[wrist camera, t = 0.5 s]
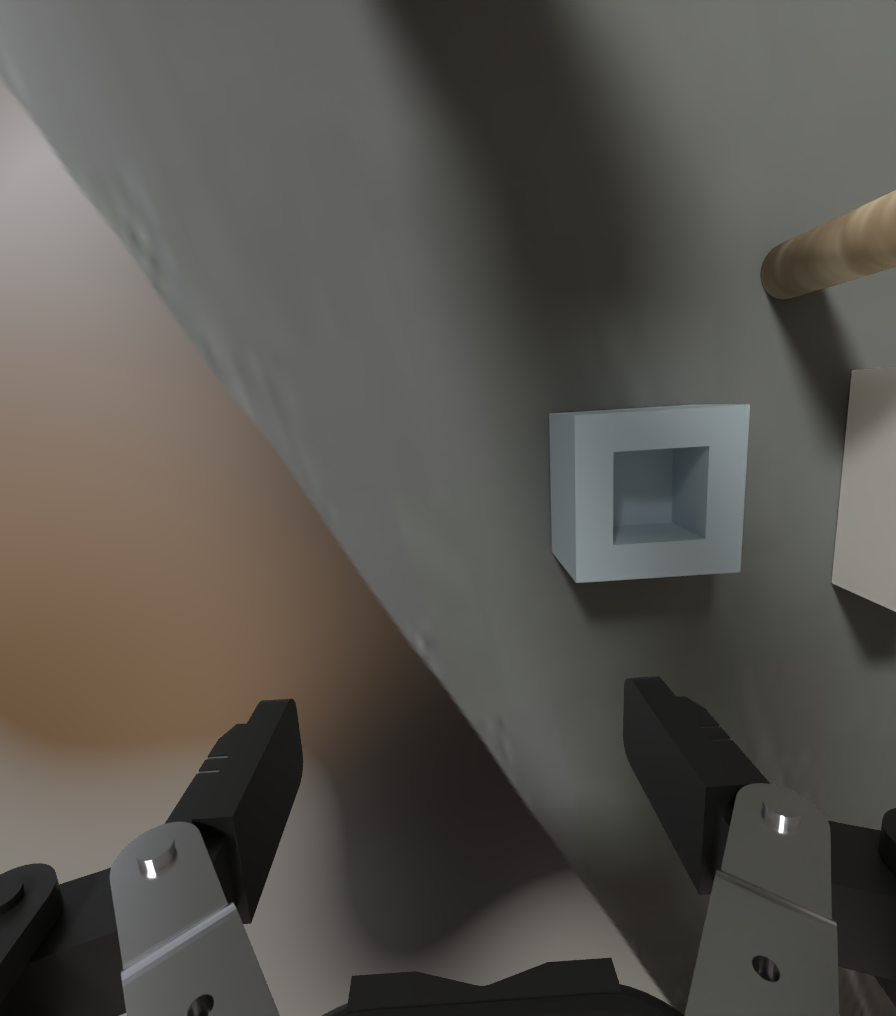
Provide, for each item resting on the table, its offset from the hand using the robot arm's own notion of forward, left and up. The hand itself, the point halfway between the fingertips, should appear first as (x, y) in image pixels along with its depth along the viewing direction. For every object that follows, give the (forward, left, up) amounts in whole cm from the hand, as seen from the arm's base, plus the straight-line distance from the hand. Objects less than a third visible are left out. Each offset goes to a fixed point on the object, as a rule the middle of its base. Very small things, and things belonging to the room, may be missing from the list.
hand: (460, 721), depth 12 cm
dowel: (-14, +21, -21) cm, 33 cm away
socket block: (-2, +11, -21) cm, 24 cm away
